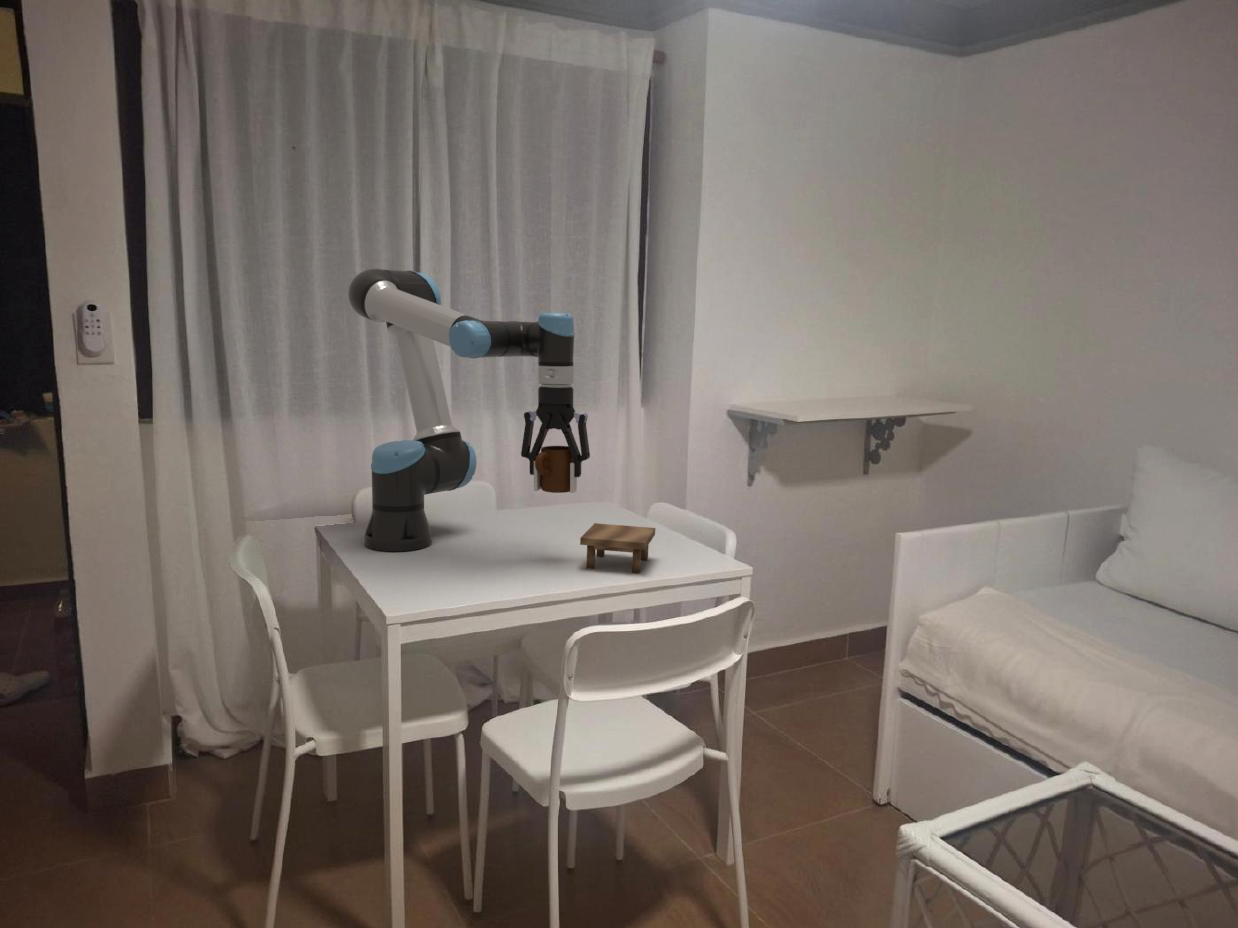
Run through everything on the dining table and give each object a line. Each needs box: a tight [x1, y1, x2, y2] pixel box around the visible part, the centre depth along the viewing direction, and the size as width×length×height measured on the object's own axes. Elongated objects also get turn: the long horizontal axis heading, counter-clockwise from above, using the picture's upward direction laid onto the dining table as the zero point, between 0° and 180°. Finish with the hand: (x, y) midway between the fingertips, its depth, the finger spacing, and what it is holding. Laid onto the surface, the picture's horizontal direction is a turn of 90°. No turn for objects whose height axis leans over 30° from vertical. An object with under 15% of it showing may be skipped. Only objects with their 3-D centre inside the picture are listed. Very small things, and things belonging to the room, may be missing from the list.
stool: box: [579, 522, 656, 574], centre depth 198 cm, size 14×14×7 cm
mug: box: [535, 445, 574, 494], centre depth 196 cm, size 12×8×9 cm, turn 151°
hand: (555, 490), depth 197 cm, fingers closed on mug, 7 cm apart
